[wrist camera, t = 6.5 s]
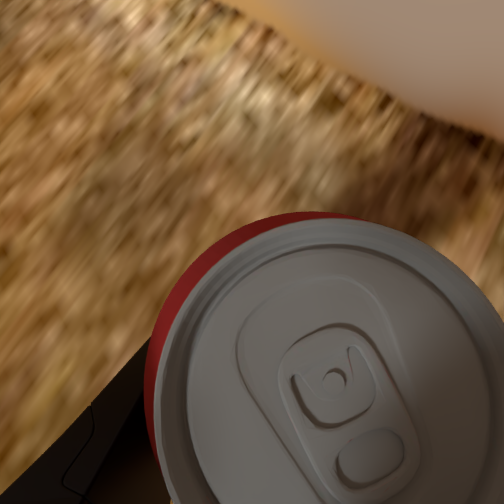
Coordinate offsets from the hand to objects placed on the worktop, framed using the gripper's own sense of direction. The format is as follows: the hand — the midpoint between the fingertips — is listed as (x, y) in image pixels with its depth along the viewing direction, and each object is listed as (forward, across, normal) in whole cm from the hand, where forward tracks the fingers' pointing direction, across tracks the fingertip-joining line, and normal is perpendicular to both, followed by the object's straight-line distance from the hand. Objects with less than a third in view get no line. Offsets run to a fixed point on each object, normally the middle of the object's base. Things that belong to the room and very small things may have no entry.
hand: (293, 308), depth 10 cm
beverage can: (+4, +1, +6) cm, 7 cm away
